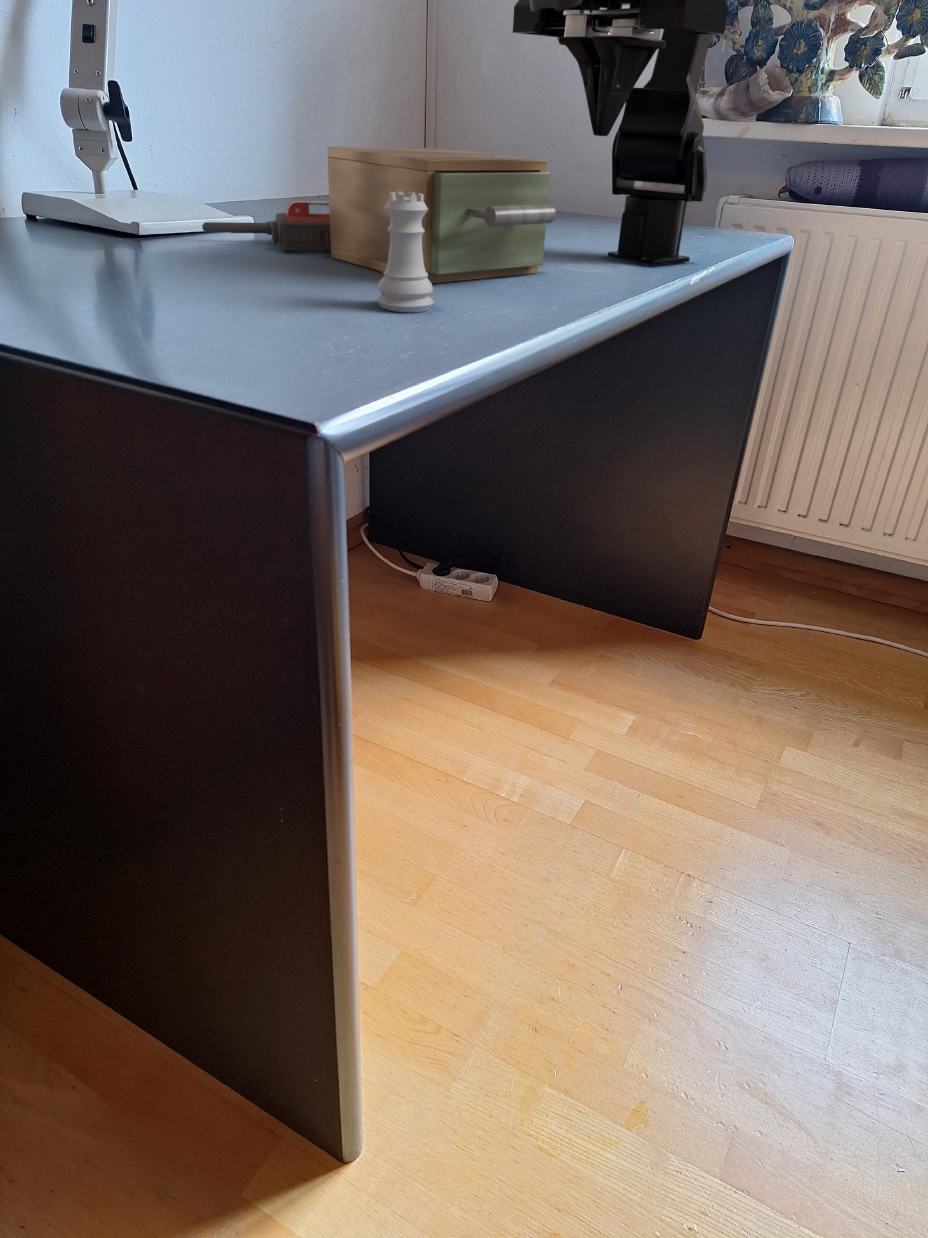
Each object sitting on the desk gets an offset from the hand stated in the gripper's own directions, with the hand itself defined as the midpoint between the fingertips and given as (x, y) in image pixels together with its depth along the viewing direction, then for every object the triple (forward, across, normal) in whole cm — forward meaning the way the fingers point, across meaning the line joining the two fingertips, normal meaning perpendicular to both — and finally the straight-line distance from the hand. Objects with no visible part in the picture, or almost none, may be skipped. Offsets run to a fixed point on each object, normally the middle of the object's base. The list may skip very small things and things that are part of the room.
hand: (600, 135), depth 74 cm
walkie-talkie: (+12, -28, -14) cm, 34 cm away
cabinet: (+12, -13, -8) cm, 19 cm away
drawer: (+11, -9, -8) cm, 16 cm away
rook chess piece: (+12, +2, -22) cm, 25 cm away
